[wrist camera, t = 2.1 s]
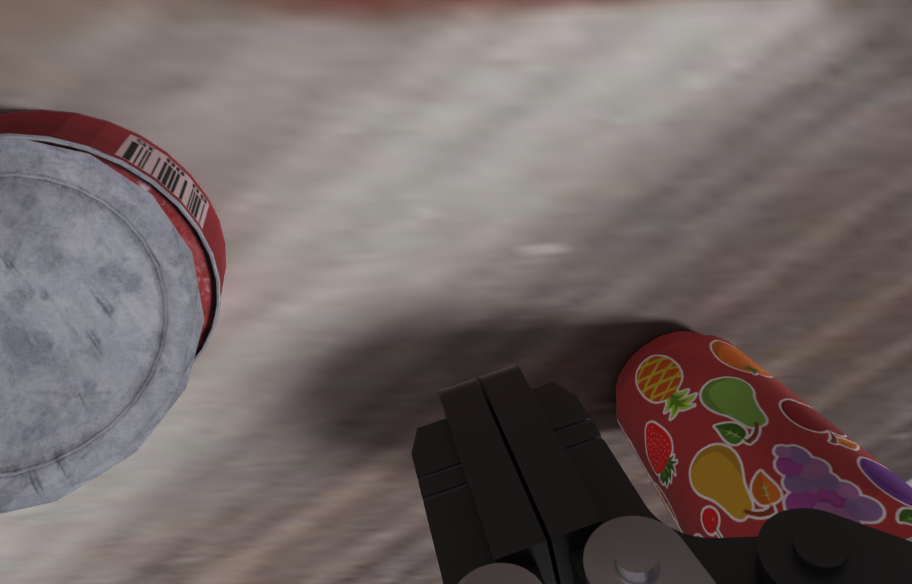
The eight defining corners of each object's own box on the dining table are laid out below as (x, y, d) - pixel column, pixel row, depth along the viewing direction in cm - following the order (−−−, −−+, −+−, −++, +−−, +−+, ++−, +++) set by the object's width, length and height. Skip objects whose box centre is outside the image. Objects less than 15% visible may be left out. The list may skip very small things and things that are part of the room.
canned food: (-13, 244, 26) (-358, 320, 16) (107, 50, 22) (-239, 7, 13) (190, 433, 26) (-30, 613, 17) (336, 272, 23) (165, 384, 14)
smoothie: (617, 462, 34) (937, 972, 18) (565, 362, 30) (929, 919, 13) (753, 388, 34) (1212, 839, 17) (721, 275, 30) (1301, 736, 13)
